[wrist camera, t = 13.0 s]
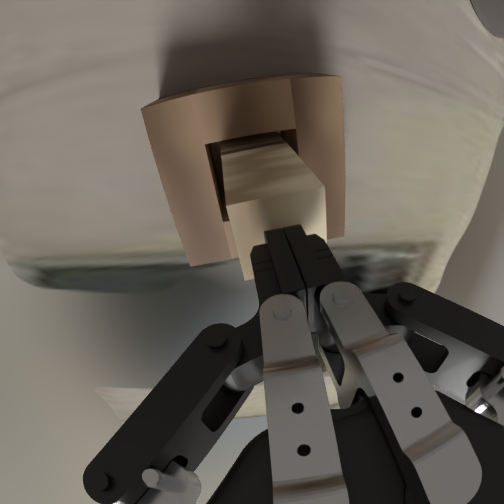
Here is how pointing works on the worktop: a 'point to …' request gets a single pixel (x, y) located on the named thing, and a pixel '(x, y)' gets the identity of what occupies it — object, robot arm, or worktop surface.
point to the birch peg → (268, 192)
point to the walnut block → (239, 125)
